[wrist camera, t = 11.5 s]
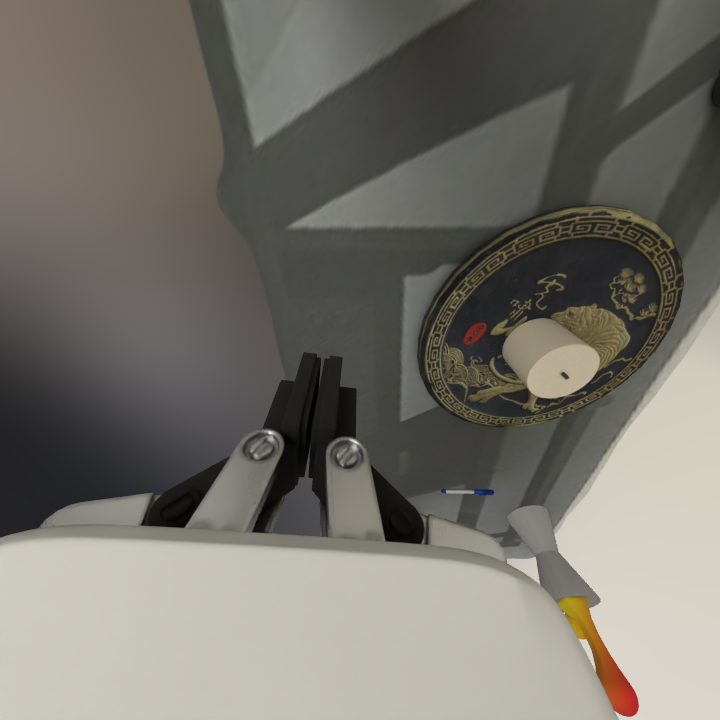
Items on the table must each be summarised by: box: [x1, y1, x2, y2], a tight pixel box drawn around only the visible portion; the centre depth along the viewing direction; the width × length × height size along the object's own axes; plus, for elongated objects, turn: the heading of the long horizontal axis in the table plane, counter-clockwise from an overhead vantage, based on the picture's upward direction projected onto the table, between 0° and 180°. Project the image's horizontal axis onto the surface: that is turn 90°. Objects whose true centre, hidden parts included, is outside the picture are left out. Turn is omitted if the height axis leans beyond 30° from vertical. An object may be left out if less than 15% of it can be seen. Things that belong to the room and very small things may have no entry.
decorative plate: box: [417, 205, 684, 427], centre depth 34 cm, size 30×2×30 cm
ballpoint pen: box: [441, 490, 494, 495], centre depth 54 cm, size 10×1×1 cm, turn 90°
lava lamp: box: [507, 505, 639, 717], centre depth 45 cm, size 9×9×35 cm
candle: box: [502, 318, 600, 398], centre depth 30 cm, size 7×7×7 cm
